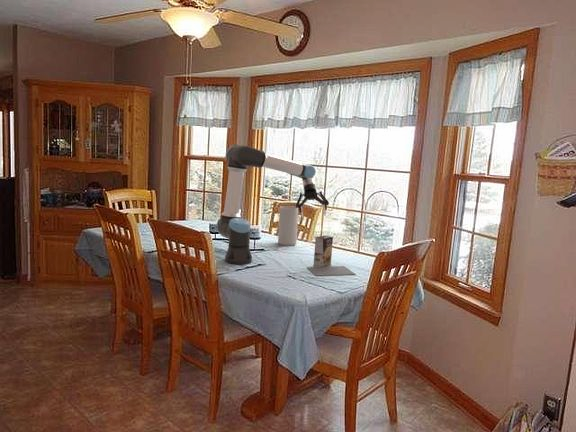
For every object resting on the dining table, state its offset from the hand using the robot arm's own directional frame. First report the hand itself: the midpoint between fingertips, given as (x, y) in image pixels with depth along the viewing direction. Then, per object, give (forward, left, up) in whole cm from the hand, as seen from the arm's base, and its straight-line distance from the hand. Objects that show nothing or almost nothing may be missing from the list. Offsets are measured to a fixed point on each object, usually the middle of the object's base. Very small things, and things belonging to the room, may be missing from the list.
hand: (314, 215), depth 266 cm
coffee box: (0, -19, -25) cm, 32 cm away
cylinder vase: (-6, +34, -25) cm, 43 cm away
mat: (0, -33, -25) cm, 41 cm away
